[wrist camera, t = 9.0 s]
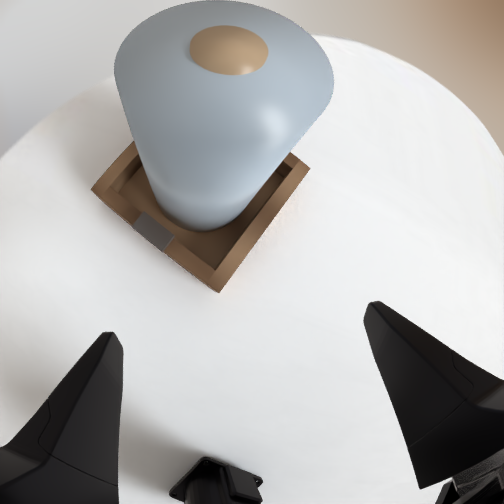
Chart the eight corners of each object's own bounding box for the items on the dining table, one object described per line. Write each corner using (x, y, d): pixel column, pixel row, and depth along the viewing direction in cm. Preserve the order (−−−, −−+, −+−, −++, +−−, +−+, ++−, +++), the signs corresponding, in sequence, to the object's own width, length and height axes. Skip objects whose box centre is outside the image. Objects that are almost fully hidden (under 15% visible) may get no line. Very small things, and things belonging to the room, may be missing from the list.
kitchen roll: (238, 242, 19) (330, 172, 7) (143, 220, 18) (71, 114, 5) (257, 155, 20) (336, 29, 8) (171, 134, 19) (167, -12, 6)
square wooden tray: (213, 292, 19) (219, 295, 16) (101, 201, 18) (85, 186, 15) (296, 179, 22) (315, 163, 18) (194, 104, 21) (197, 78, 17)
